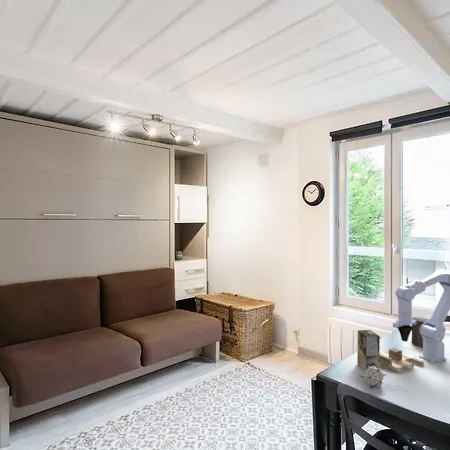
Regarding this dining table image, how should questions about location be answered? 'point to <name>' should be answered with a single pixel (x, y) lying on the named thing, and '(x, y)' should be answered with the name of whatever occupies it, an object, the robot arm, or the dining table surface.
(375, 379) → the game die
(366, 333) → the coffee box
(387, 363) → the trap deck
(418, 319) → the dark brown upright box
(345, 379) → the dining table surface
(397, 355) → the walnut block
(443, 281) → the robot arm
